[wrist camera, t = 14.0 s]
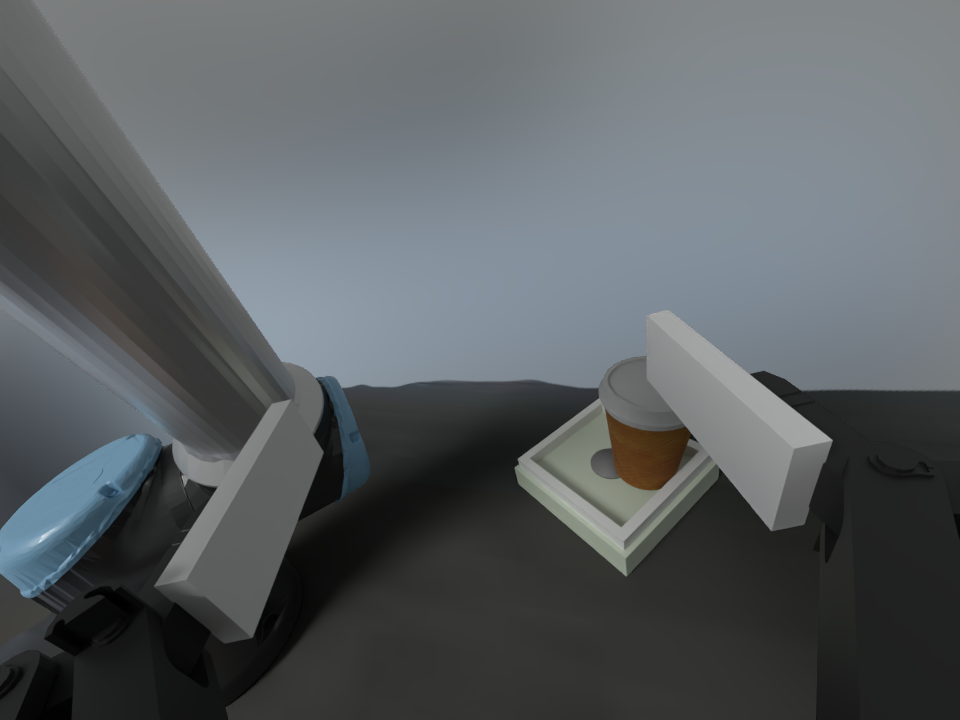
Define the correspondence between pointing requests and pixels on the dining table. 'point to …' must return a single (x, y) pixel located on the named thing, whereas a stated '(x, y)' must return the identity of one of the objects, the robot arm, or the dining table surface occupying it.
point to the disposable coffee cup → (641, 426)
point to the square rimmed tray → (609, 489)
